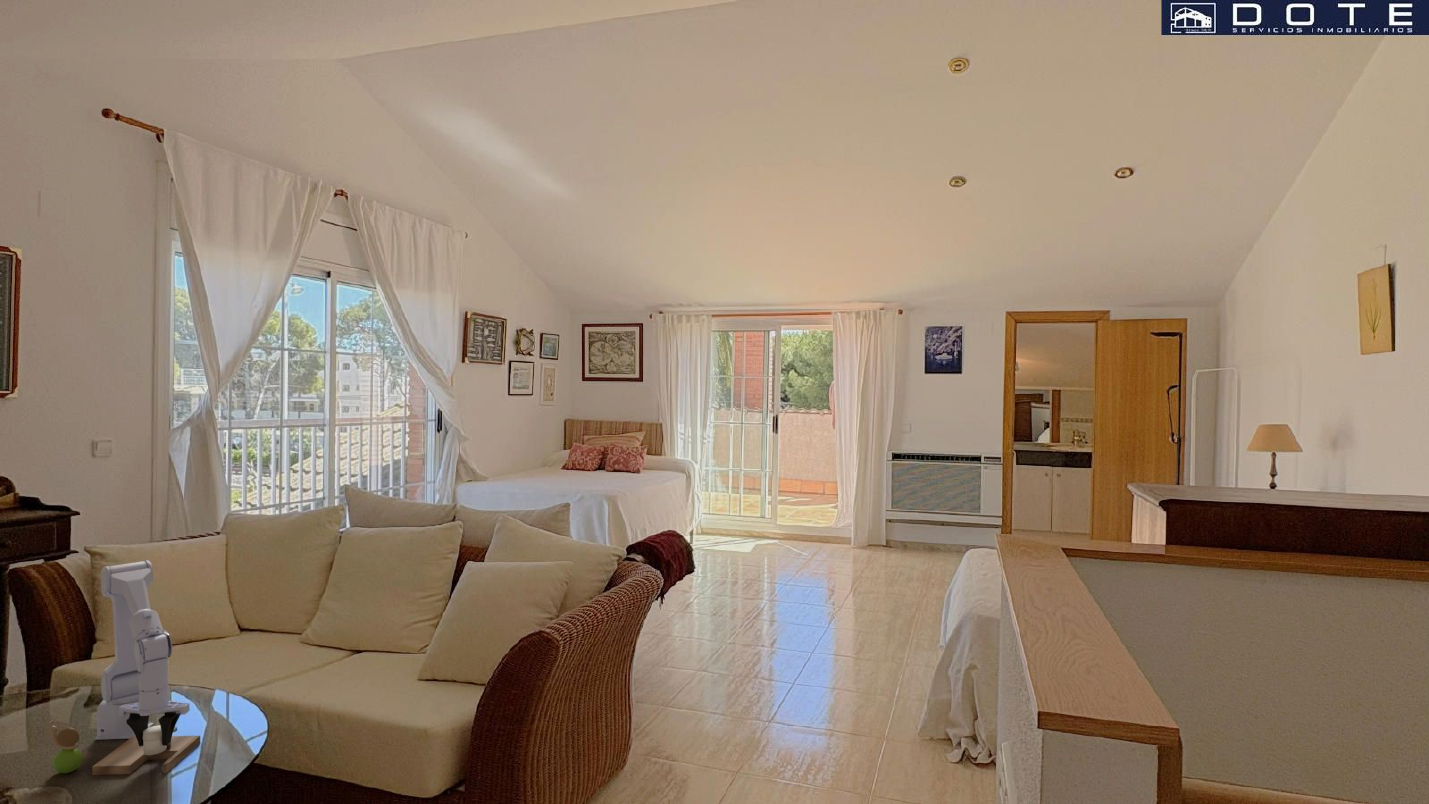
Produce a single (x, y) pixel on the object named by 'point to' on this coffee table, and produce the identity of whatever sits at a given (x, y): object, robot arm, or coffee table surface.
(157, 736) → the ribbed cream cylinder
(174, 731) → the hook post
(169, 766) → the shelf board
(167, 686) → the robot arm
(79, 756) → the snail figurine
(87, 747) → the coffee table surface
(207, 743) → the coffee table surface
